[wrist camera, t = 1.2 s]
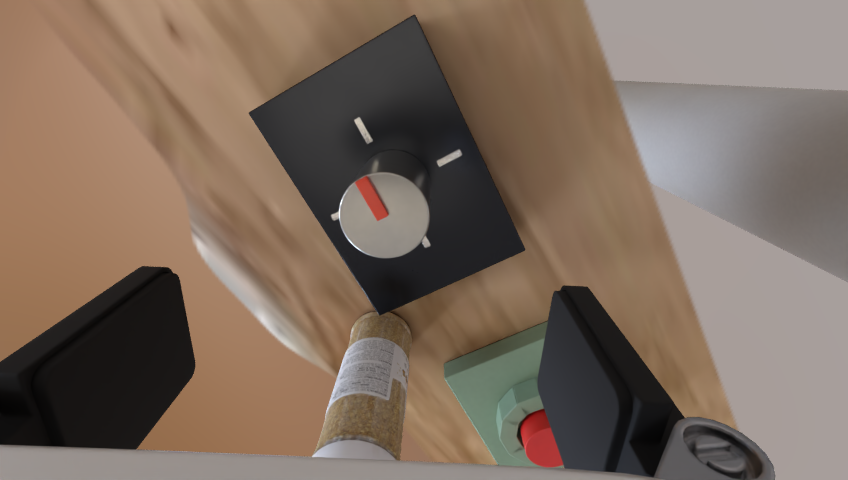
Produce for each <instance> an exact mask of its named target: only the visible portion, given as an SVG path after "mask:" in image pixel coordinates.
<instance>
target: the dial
mask: <svg viewBox="0 0 848 480" xmlns="http://www.w3.org/2000/svg"><path fill="white" fill-rule="evenodd" d="M339 220H340V225H341V228H342V230H343V232H344V234H345V236H346V237H347V239H348V240H349V241H350V242H351V243H352V245H353V246H355V247H356V248H357V249H358V250H360V251H362V252H363V253H365V254H367V255H370V256H373V257H378V258H395V257H399V256H402V255H404V254H407V253H409V252H410V251H412V250H413V249H415V248H416V247H417V246H418V245H419V244H420V243H421V241H422V240H423V239H424V237H425V235H426V233H427V230H428V227H429V222H430V178H429V175H428V173H427V170H426V169H425V167H424V165H423V164H422V163H421V162H420V161H419V160H418V159H417V158H416V157H414V156H413V155H411V154H409V153H406V152H404V151H399V150H388V151H383V152H380V153H378V154H376V155H374V156H373V157H372V158H370V159H369V160H368V161H367V162H366V164H365V165H364V166H363V168H362V169H361V170H360V172H359V173H358V175H357V176H356V177H355V179H354V180H353V181H352V183H351V184H350V185H349V187H348V188H347V190H346V191H345V193H344V195H343V197H342V199H341V202H340V207H339Z"/></svg>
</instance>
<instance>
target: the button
mask: <svg viewBox="0 0 848 480" xmlns="http://www.w3.org/2000/svg"><path fill="white" fill-rule="evenodd" d="M520 432H521V436H522V440H523V444H524V449H525V452H526V455H527V457H528V458H529V460H530V461H532V462H533V463H534V464H536V465H539V466H542V467H558V466H562V465H563V462H562V459H561V456H560V453H559V450H558V447H557V444H556V442H555V439H554V436H553V433H552V430H551V427H550V424H549V421H548V418H547V416H546V413H545V410H544V409H540V410H538V411H535V412H532V413H530V414H529V415H527V416H526V417H525V418H524V420H523V421H522V424H521V427H520Z"/></svg>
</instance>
